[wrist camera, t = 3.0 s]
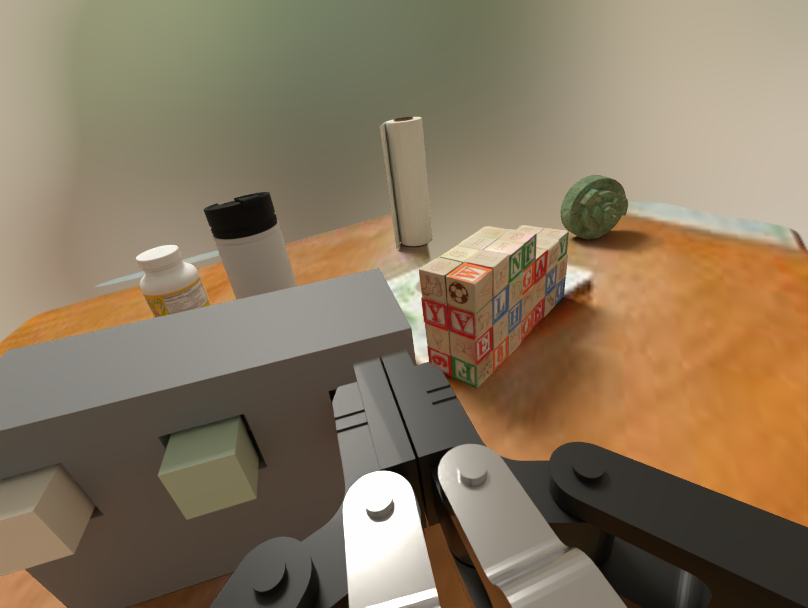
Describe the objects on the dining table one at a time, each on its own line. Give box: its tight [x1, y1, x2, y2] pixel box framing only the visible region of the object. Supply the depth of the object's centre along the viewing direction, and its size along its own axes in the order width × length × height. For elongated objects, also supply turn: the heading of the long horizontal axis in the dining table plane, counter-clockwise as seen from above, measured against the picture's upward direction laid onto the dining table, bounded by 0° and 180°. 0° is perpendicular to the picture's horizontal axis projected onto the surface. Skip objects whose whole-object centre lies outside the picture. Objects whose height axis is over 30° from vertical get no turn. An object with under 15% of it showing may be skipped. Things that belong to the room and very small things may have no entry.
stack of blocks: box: [419, 225, 569, 388], centre depth 45 cm, size 21×6×12 cm, turn 139°
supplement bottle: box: [136, 245, 212, 318], centre depth 52 cm, size 7×7×13 cm
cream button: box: [0, 463, 96, 576], centre depth 20 cm, size 4×3×4 cm
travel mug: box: [204, 192, 296, 300], centre depth 43 cm, size 6×7×20 cm
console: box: [0, 268, 416, 608], centre depth 28 cm, size 24×8×16 cm, turn 105°
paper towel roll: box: [380, 117, 432, 249], centre depth 71 cm, size 7×6×21 cm
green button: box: [158, 415, 259, 520], centre depth 22 cm, size 4×3×4 cm
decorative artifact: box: [561, 175, 628, 239], centre depth 65 cm, size 10×7×10 cm
